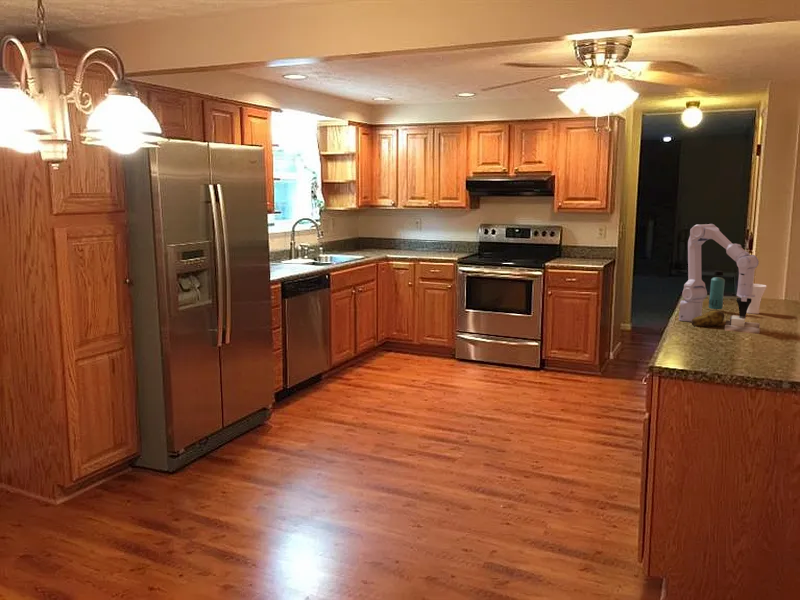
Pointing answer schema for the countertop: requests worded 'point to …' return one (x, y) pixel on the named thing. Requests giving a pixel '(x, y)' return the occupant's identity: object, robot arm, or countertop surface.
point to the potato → (709, 319)
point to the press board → (747, 327)
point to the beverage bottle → (716, 291)
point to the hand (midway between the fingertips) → (742, 315)
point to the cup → (756, 298)
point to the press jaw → (737, 320)
